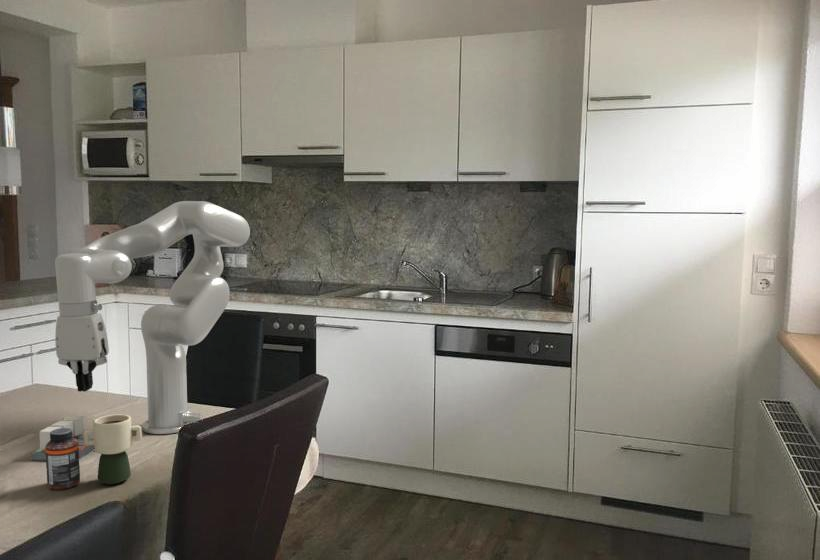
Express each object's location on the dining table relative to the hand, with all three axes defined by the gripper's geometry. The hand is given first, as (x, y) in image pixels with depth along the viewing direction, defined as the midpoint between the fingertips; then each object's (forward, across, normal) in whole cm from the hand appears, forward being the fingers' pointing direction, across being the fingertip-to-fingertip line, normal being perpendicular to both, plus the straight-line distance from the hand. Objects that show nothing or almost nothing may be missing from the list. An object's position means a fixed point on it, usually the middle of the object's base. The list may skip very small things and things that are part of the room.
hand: (85, 389), depth 152 cm
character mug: (+15, -13, +15) cm, 25 cm away
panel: (+15, +6, -3) cm, 16 cm away
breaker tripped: (+13, +8, +2) cm, 15 cm away
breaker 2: (+13, +8, -7) cm, 17 cm away
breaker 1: (+13, +8, -3) cm, 16 cm away
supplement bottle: (+15, -4, +18) cm, 23 cm away
